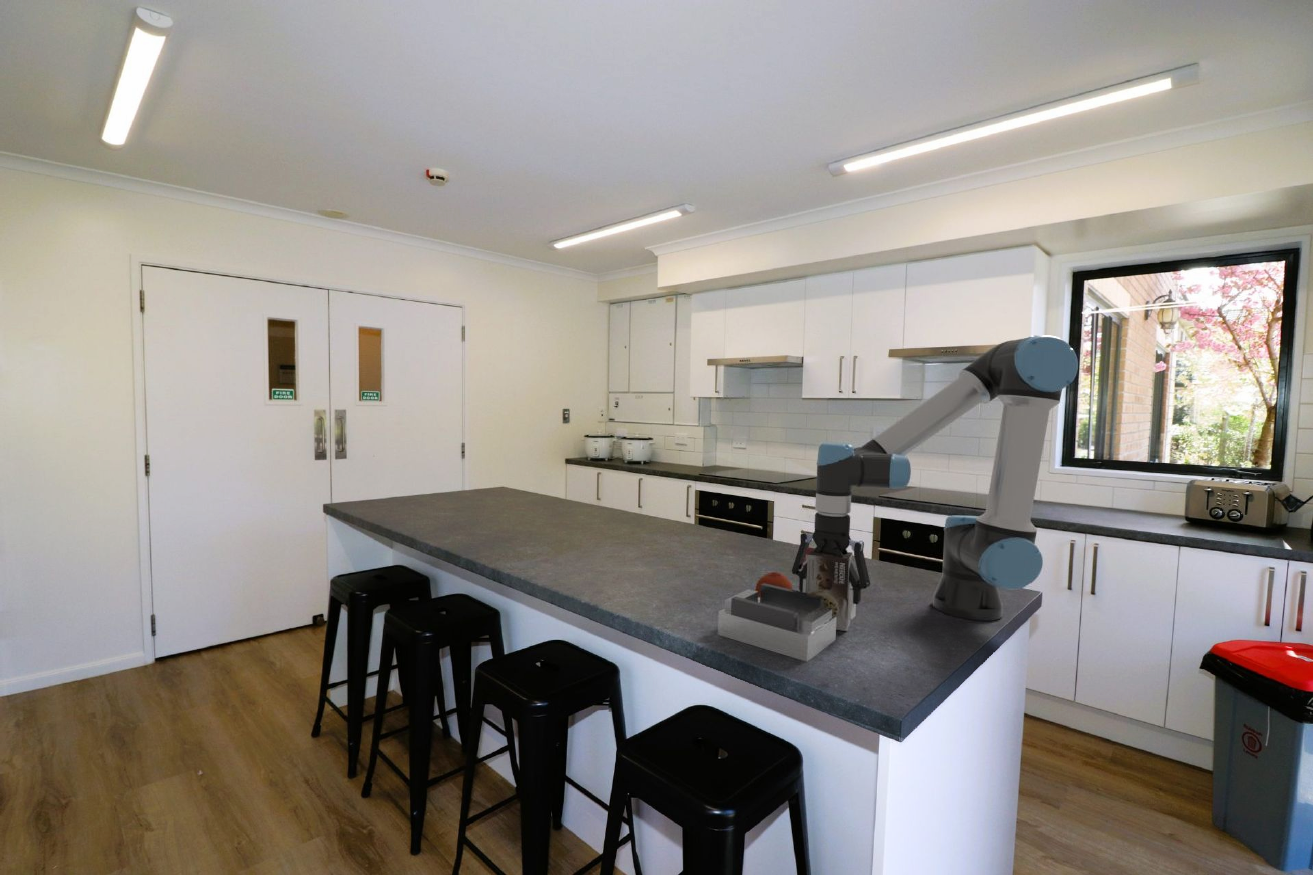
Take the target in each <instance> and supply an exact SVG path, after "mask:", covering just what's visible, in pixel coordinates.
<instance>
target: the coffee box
mask: <svg viewBox="0 0 1313 875" xmlns="http://www.w3.org/2000/svg"><path fill="white" fill-rule="evenodd" d="M814 550H815V548H813V549H812V550H811V551H810V553H809V554H808V555H807V593H809V594H813V595H817V596H822V597H823V607H824V608H828V609H832V616H836V631H843V632H847V631H848V629H849V628H850V624H851V619H848V599H849V589H850V588H852V585H851V583H850V581H849V568H850V564H851V562H852V563H853V552H849V551H847V552H848V555H846V556H845V557H843V558H842V557H837V555H832V554H827V553H822V552H820V553H815V552H813V551H814ZM842 554H843V553H842ZM843 555H845V554H843Z"/></svg>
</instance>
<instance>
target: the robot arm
mask: <svg viewBox="0 0 1313 875" xmlns="http://www.w3.org/2000/svg"><path fill="white" fill-rule="evenodd" d="M1078 360H1079V359H1078V357H1077V354H1076V352H1075V350H1074V348H1072V347H1071V344H1069V343H1068V342H1067V341H1066V340H1064V339H1062V338H1061V337H1057V336H1054V335H1031V336H1028V337H1025V338H1019V339H1014V340H1006V341H1003V342H1001V343H999V344H997V345H995V346H994V347H992V348H991V349H988V350H987V351H986V352H984V353H983V354H982V355H980V357H978V358H977V359H975V360H974V361H973V362H971V363H970V364H969V365H968V366H966V367H964V368H963V369H961V370H960V371H959V373H958V378H957V379H955V380H954V381H952V382H951V383H950V384H948V385H947V386H946V387H944V388H942V389H941V390H940V391H938V392H937V393H935V394H933V395H932V396H931V397H930V398H929V399H927V400H926V401H924V402H923V403H921V404H920V405H919V406H917V407H916V408H914V409H913V410H912V411H910V412H909V413H907V414H906V415H905V416H903V417H901V418H900V419H898V421H896V422H895V423H892V425H891V426H889V427H887V428H886V429H885V430H884V431H882V432H880V433H879V434H877V435H875V437H874V438H872V439H871V440H870V441H867V442H866V443H865V444H863V445H862V446H860V447H854V446H853V445H852V444H850V443H841V442H840V443H839V442H824V443H822V444H820V445H819V447H818V451H817V460H816V461H817V462H816V491H815V504H814V509H815V511H816V513H815V514H814V531H813V533H810V532H808V531H806V532H803V533H801V534H800V543H801V544H800V545H799V546H798V550H797V553H796V556H795V558H794V563H793V565H792V569H791V573H792V574H793V575H796V576H797V577H798V578H799V579H798V580H799V584H798V585H799V586H798V591H800V592H804V593H807V563H806V564H805V566H804V567H803V569H802V566H803V563H804V560H805V557H806V554H807V550H808V547H809V544H810V542H811V541H812V540H814V542H815V544H816V545H817V547H816V548H815V550H814V551H813V552H815V553H820V552H822V553H827V554H832V555H837V557H842V558H843V557H845V556H846V555H848V552H849V551H848V548H849V546H850V547H851V550H852V551H853V557H854V560H855V566H856V568H855V567H854V565H853V561H852V562H851V564H850V568H849V581H850V583H851V588H850V589H849V599H848V619H850V620H852V619H854V618H855V617H856V614H857V613H856V612H857V605H859V604H860V602H862V601H861V598H862V595H861V594H862V590H863V589H864V590H865V589H868V588H869V587H870V586H871V580H870V575H869V571H868V567H867V563H866V559H865V553H864V550H865V549H864V548H865V543H864V541H863V540H859V541H858V540H853V539H852V538H851V536H850V533H851V532H850V531H851V516H850V513H851V510H852V509H851V506H852V494H853V493H852V490H853V488H874V489H875V488H877V489H890V490H893V489H905V488H906V487H907V486H908V484H909V483H910V480H911V477H912V476H911V471H912V470H911V469H912V468H911V462H910V460H909V458H908V456H906V455H907V454H909V453H911V452H912V451H913V450H915V449H916V448H918V447H920V446H921V445H922V444H924V443H925V442H927V441H928V440H929V439H930V438H932V437H934V436H935V435H936V434H938V433H939V432H940V431H942V430H943V429H945V428H946V427H947V426H949V425H950V424H952V423H953V422H955V421H957V420H958V419H959V418H961V417H962V416H964V415H965V414H966V413H968V412H969V411H971V410H973V409H974V408H975V407H977V406H978V405H980V404H983V405H985V404H989V403H991V401H993V400H994V399H996V398H998V400H1000V402H1001V403H1002V404H1003V406H1002V407H1003V408H1002V414H1001V420H1000V424H999V431H998V436H997V442H996V443H997V444H996V450H995V455H994V460H993V468H992V471H991V476H990V477H991V478H990V483H989V488H988V495H987V502H986V507H985V512H984V513H983V514H981V515H979V516H978V515H960V514H959V515H957V514H956V515H955V514H954V515H949V516H947V517H946V520H945V523H944V528H943V531H944V533H943V534H944V535H943V551H942V552H943V553H942V554H943V555H942V556H943V557H942V571H941V572H942V573H941V577H940V579H939V582H937V583H938V584H937V586H936V588H935V590H934V593H933V597H932V606H933V608H934V609H935V610H937V611H939V612H941V613H943V614H946V615H949V616H953V617H956V618H962V619H966V620H974V621H996V620H999V619H1001V618H1002V617H1003V613H1004V605H1003V603H1002V602H1003V601H1002V599H1001V596H1000V592H999V589H1002V590H1008V591H1009V590H1010V591H1015V590H1016V591H1017V590H1021V589H1023V588H1025V587H1027V586H1029V585H1030V584H1032V583H1033V582H1034V581H1036V580H1037V579H1038V577H1039V576H1040V575H1041V572H1042V569H1043V554H1042V552H1041V551H1040V549H1039V548H1038V546H1037V545H1036V538H1037V532H1038V530H1037V528H1036V527H1035V525H1034V524H1033V523H1032V521H1031V519H1032V518H1031V517H1032V513H1033V512H1032V511H1033V505H1034V500H1035V497H1036V496H1035V495H1036V489H1037V485H1038V478H1039V472H1040V467H1041V462H1042V456H1043V450H1044V444H1045V439H1046V432H1047V427H1048V422H1049V416H1050V412H1051V410H1052V409H1053V408H1054V407H1056V406H1057V405H1059V404H1060V402H1061V398H1062V393H1063V390H1064V389H1065V388H1066V387H1067V386H1069V385H1070V384H1072V382H1073V381H1074V380H1075V378H1076V376H1077V373H1078V370H1079V361H1078ZM842 553H843V554H845V555H843V554H842Z"/></svg>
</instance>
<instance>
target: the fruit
mask: <svg viewBox="0 0 1313 875" xmlns="http://www.w3.org/2000/svg"><path fill="white" fill-rule="evenodd" d="M763 583H765V584H770V585H774V586H778V587H783V588H787V589H791V590H794V589H793V586H792V584H791V581H790V580H789V579H788V578H787V577H786V576H785V575H783V574H782V573H780V572H778V571H777V572H776V571H775V572H774V571H773V572H772V571H771V572H768V573H766V574H764V575H762V576H761V577H760V579H759V580H757V582H756V585H755V589H754V591H758V597H759V598H760V590H761V584H763Z"/></svg>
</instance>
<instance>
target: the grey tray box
mask: <svg viewBox="0 0 1313 875" xmlns="http://www.w3.org/2000/svg"><path fill="white" fill-rule="evenodd" d="M717 617H718V622H717V635H718V636H721V637H725V638H727V639H731V640H735V641H738V642H741V643H744V644H747V645H749V646H750V645H751V646H754V647H757V648H761V649H764V650H767V651H770V652H773V653H777V654H781V655H784V656H786V657H790V658H793V659H797V660H800V661H803V662H806V663H807V662H809V661H810V660H812V659H813V658H814V657H815V656H817V655H818V654H819V653H821V652H822V651H824V649H826V648H827V647H829V645H831V644H832V643H834V642H835V641H836V636H837V634H836V633H837V630H836V616H832V609H828V608H824V607H823V597H822V596H817V595H813V594H809V593H804V592H800V590H795V589H793V590H791V589H787V588H783V587H778V586H774V585H770V584H765V583H763V584H761V590H760V598H759V597H758V591H755V589H753V590H752V589H749V588H748V589H746V590H743V591H741V592H739V593H737V594H735V595H733V596H731V597H728V598H727V599H725V600H724V608H723V609H721V610H719V611H718V616H717Z"/></svg>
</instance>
